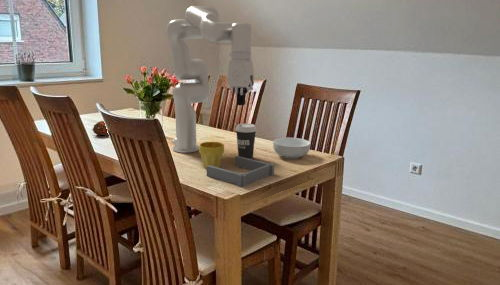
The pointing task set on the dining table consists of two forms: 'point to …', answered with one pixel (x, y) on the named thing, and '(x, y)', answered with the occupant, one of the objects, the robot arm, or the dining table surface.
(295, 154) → the cereal bowl
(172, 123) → the dining table surface
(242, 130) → the coffee cup
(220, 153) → the plant pot
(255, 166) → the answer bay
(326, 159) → the dining table surface
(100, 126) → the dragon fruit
